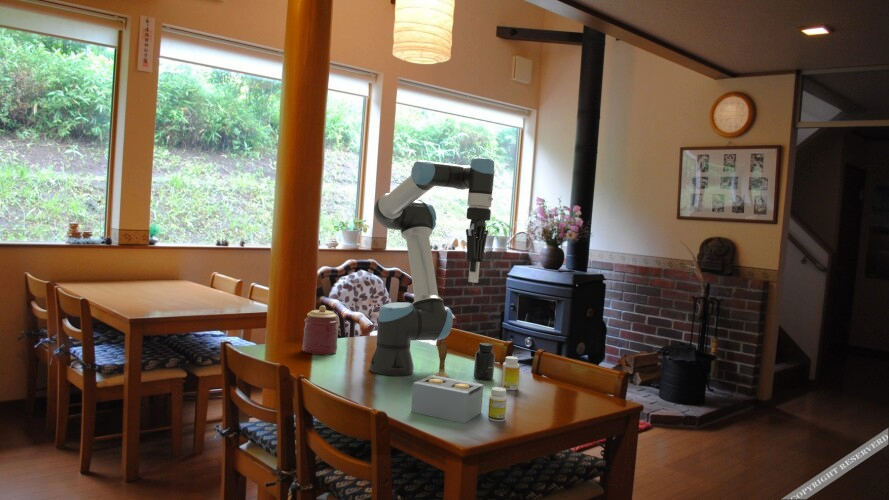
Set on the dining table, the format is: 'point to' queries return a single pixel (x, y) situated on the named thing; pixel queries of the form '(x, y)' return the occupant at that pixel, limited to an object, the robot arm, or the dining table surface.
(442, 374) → the hand bell
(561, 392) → the dining table surface
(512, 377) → the supplement bottle
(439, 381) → the peg
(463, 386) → the peg
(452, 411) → the socket block
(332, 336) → the canister
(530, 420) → the dining table surface
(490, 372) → the supplement bottle
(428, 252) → the robot arm
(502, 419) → the supplement bottle
